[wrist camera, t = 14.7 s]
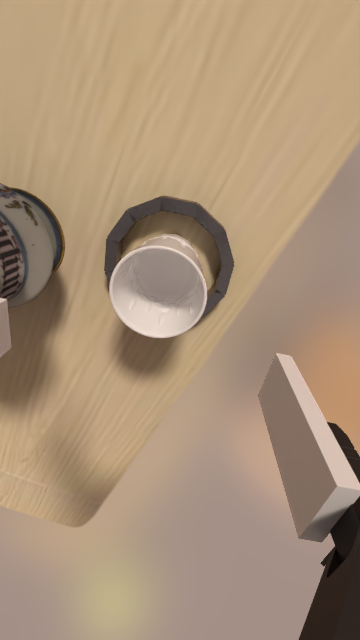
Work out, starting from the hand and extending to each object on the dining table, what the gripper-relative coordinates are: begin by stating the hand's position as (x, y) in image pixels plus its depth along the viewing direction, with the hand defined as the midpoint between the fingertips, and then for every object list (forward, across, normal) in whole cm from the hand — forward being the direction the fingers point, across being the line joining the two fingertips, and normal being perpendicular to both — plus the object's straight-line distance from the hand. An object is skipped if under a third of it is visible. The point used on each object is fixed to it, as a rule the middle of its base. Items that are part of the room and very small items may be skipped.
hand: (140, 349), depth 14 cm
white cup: (+19, 0, +1) cm, 19 cm away
